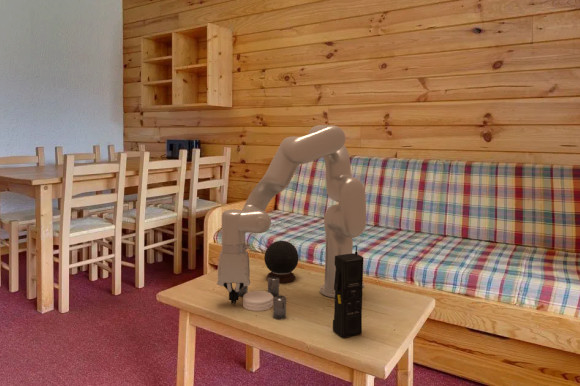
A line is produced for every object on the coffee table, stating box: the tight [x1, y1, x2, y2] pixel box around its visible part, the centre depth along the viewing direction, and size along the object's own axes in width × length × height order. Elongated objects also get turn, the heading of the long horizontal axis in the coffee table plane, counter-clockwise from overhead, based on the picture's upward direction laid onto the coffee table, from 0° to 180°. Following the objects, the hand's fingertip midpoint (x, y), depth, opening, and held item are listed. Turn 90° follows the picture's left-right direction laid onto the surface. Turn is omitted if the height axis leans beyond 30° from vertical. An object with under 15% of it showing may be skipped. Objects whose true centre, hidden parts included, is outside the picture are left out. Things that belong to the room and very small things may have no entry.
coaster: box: [242, 290, 274, 312], centre depth 148 cm, size 10×10×4 cm
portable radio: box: [332, 245, 364, 339], centre depth 127 cm, size 8×6×25 cm
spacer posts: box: [239, 277, 287, 320], centre depth 147 cm, size 17×22×6 cm
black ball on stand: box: [264, 240, 300, 285], centre depth 173 cm, size 13×13×15 cm
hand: (233, 302), depth 147 cm, fingers closed
